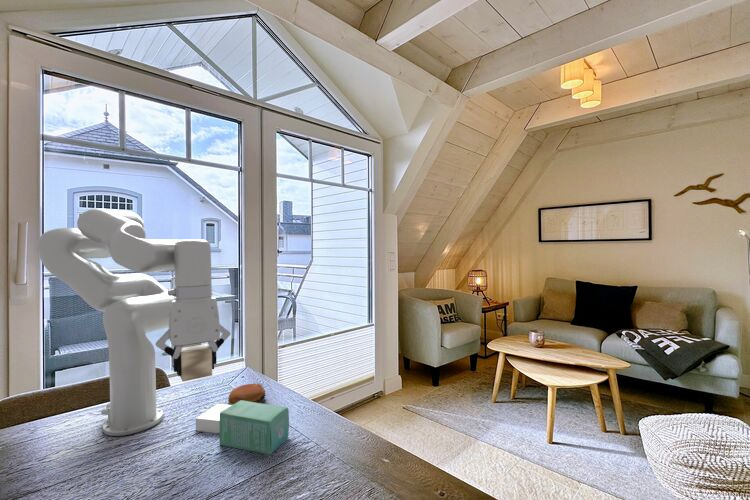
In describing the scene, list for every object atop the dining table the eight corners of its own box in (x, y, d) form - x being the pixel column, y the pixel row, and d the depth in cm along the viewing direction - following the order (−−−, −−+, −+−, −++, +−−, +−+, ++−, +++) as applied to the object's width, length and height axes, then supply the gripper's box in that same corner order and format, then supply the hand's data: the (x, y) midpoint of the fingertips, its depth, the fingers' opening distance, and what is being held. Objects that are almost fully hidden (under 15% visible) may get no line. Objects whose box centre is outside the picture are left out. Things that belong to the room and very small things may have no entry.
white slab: (195, 430, 84) (195, 418, 84) (217, 415, 92) (217, 403, 92) (225, 434, 82) (224, 421, 82) (245, 417, 90) (244, 406, 90)
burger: (222, 411, 94) (221, 393, 94) (238, 396, 104) (238, 380, 104) (257, 411, 94) (257, 394, 94) (270, 397, 103) (270, 381, 103)
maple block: (182, 381, 76) (181, 354, 76) (179, 374, 81) (178, 348, 81) (212, 375, 80) (211, 349, 80) (207, 368, 85) (206, 343, 85)
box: (271, 456, 73) (270, 420, 73) (218, 446, 77) (218, 412, 77) (290, 438, 80) (289, 405, 80) (240, 430, 84) (240, 399, 84)
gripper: (150, 298, 73) (152, 385, 73) (237, 291, 83) (238, 367, 83) (148, 295, 79) (150, 375, 79) (229, 288, 89) (230, 359, 89)
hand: (195, 370), depth 81 cm, fingers closed on maple block, 6 cm apart
